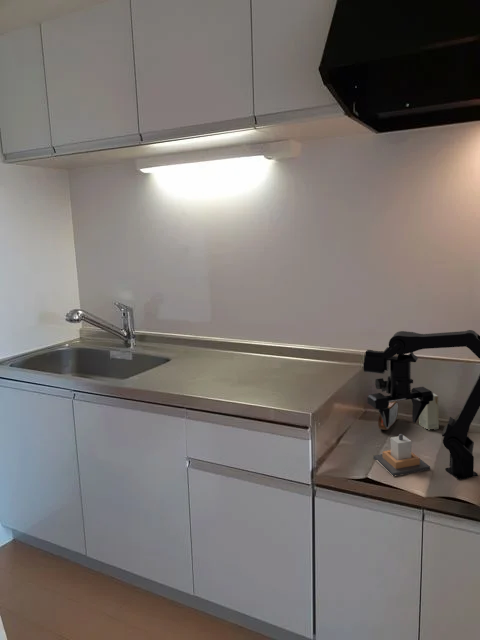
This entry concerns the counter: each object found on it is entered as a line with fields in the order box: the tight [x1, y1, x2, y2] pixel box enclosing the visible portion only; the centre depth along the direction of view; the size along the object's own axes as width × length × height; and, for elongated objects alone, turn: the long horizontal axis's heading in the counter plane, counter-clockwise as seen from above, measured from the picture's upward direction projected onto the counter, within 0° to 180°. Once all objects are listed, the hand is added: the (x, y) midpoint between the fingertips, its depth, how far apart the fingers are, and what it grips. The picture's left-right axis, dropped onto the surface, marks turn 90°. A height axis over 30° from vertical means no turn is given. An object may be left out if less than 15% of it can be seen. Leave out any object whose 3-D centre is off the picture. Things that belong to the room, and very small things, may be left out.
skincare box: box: [418, 392, 440, 431], centre depth 182 cm, size 6×4×12 cm
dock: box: [372, 449, 431, 477], centre depth 158 cm, size 12×12×3 cm
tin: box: [377, 401, 399, 431], centre depth 185 cm, size 15×3×8 cm, turn 146°
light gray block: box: [390, 433, 412, 461], centre depth 157 cm, size 4×4×8 cm
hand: (400, 424), depth 156 cm, fingers open, 9 cm apart
